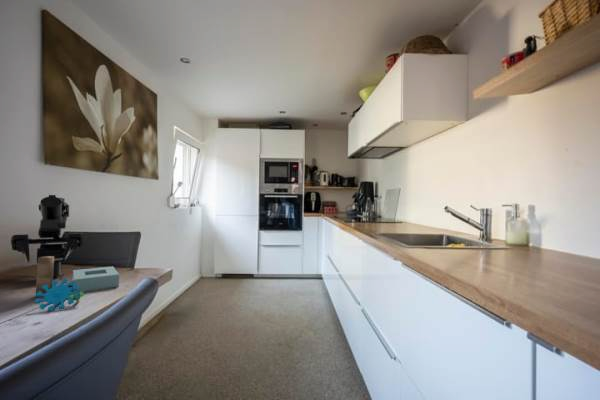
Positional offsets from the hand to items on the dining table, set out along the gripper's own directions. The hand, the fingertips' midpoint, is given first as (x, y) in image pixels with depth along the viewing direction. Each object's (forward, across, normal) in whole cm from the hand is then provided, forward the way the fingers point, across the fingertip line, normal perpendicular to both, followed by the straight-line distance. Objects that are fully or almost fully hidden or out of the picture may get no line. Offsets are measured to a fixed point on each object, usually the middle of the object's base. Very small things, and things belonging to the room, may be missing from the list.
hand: (46, 260), depth 94 cm
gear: (+22, +4, -6) cm, 23 cm away
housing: (+6, +14, +9) cm, 18 cm away
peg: (+10, 0, +5) cm, 11 cm away
